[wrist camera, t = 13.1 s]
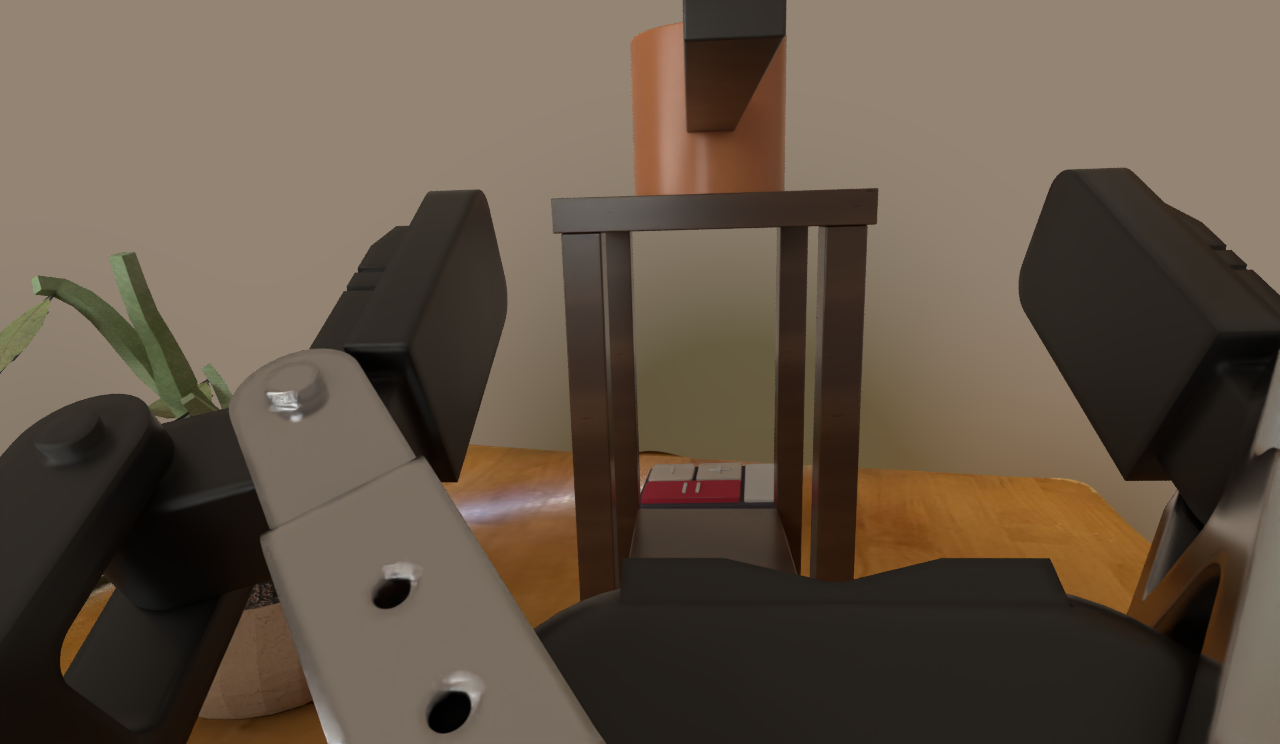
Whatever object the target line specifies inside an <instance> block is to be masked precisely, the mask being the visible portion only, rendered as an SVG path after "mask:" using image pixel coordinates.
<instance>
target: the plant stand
mask: <svg viewBox="0 0 1280 744" xmlns="http://www.w3.org/2000/svg"><path fill="white" fill-rule="evenodd" d="M551 205H552V223H553V233H555V234H557V233H563V234H562V235H561V239H562V257H563V278H564V295H565V296H564V297H565V315H566V334H567V353H568V373H569V391H570V410H571V411H570V412H571V430H572V450H573V469H574V488H575V507H576V526H577V546H578V565H579V584H580V601H583V600H586V599H588V598H591V597H594V596H596V595H599V594H602V593H605V592H609V591H613V590H616V589H620V588H621V574H622V559H623V558H727V559H731V560H736V561H740V562H744V563H749V564H753V565H757V566H762V567H766V568H770V569H775V570H779V571H784V572H788V573H792V574H797V575H801V531H802V485H803V439H804V391H805V347H806V300H807V255H808V254H807V253H808V250H807V249H808V226H819V234H818V274H817V312H816V313H817V314H816V352H815V353H816V355H815V392H814V434H813V435H814V436H813V473H812V513H811V553H810V578H814V579H818V580H823V581H828V582H844V581H850V580H854V557H855V531H856V506H857V481H858V454H859V430H860V427H859V426H860V404H861V377H862V353H863V327H864V304H865V303H864V302H865V278H866V253H867V228H868V227H867V225H870V224H871V225H873V224H877V207H878V189H877V188H868V189H837V190H809V191H807V190H806V191H775V192H744V193H712V194H681V195H650V196H619V197H589V198H557V199H551ZM767 227H777V267H776V269H777V270H776V347H775V352H776V353H775V428H774V508H773V509H641V503H640V470H639V438H638V409H637V408H638V406H637V374H636V343H635V309H634V278H633V247H632V246H633V244H632V231H661V230H698V229H733V228H767Z"/></svg>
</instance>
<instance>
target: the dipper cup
mask: <svg viewBox="0 0 1280 744" xmlns="http://www.w3.org/2000/svg"><path fill="white" fill-rule="evenodd" d="M631 74H632V75H631V77H632V108H633V109H632V110H633V143H634V173H635V174H634V177H635V196H650V195H681V194H712V193H744V192H775V191H784V172H785V171H784V170H785V167H784V166H785V104H786V103H785V101H786V99H785V98H786V0H683V22H681V23H675V24H669V25H665V26H660V27H657V28H653V29H650V30H647V31H645V32H643V33H640V34H638V35H637V36H636V37H634V38H633V39H632V41H631Z"/></svg>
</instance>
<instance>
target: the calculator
mask: <svg viewBox="0 0 1280 744" xmlns="http://www.w3.org/2000/svg"><path fill="white" fill-rule="evenodd" d="M640 503H641V509H773V508H774V464H746V466H742V464H741V463H703V464H700V465H699V467H695V464H658V465H654V466H653V468H652V469H651V470H650V472H649V474H648V477H647V479H646V482H645V484H644V486H643V489H642V491H641V494H640Z"/></svg>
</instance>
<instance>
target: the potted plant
mask: <svg viewBox="0 0 1280 744" xmlns="http://www.w3.org/2000/svg"><path fill="white" fill-rule="evenodd" d="M109 259H110V262H111V266H112V269H113V272H114V275H115V278H116V281H117V284H118V287H119V290H120V293H121V296H122V299H123V301H124V304H125V307H126V310H127V312H128V315H129V318H130V320H131V322H132V324H133V326H134V327H135V329H136V330H135V329H134V328H133V327H132V326H131V325H130V324H129V323H128V322H127V321H126V320H125V319H124V318H123V317H122V316H121V315H120V314H119V313H118V312H117V311H116V310H115V309H114V308H113V307H111V306H110V305H109V304H108V303H106V302H105V301H104V300H102V299H101V298H100V297H98V296H97V295H96V294H94V293H93V292H92V291H90V290H87V289H85V288H83V287H81V286H79V285H77V284H75V283H73V282H71V281H69V280H66V279H60V278H53V277H45V276H36V277H35V278H33V279H32V285H33V290H34V294H35V295H44V296H48V297H47V298H46V299H45V300H44V301H43V302H41V303H39V304H38V305H36V306H35V307H33V308H31V309H30V310H28V311H27V312H25V313H24V314H23V315H21V316H20V317H19V318H17V319H16V320H15V321H13V322H12V323H11V324H10V325H8V326H7V328H5V329H4V330H3V331H2V332H1V333H0V373H1V372H2V371H3V370H4V369H5V367H6V366H7V365H8V364H9V363H11V362H12V361H14V360H15V359H16V358H17V357H18V356H19V354H20V353H21V352H22V351H23V350H24V349H25V348H26V347H27V345H28V344H29V343H30V341H31V340H32V339H33V337H34V336H35V335H36V333H37V332H38V330H39V329H40V328H41V326H42V325H43V322H44V319H45V317H46V315H47V314H48V308H49V304H50V301H51V299H52V298H53V297H55V298H57V299H59V300H61V301H63V302H65V303H67V304H69V305H71V306H73V307H74V308H75V309H77V310H78V311H79V312H80V313H81V314H82V315H84V316H85V317H86V318H87V319H88V320H89V321H91V322H92V324H93V325H94V326H95V327H96V328H97V329H98V330H99V331H100V333H101V334H102V335H103V336H104V337H105V338H106V339H107V341H108V342H109V343H110V344H111V345H112V347H113V348H114V349H115V350H116V352H117V353H118V354H119V355H120V356H121V358H122V359H123V360H124V361H125V362H126V364H127V365H128V366H129V367H130V368H131V369H132V371H133V372H134V373H135V374H136V376H138V377H139V378H140V379H141V380H142V381H143V382H144V383H145V384H146V385H148V386H149V387H150V388H151V389H152V390H153V391H154V392H155V393H157V394H158V395H159V396H160V397H161V399H159V400H158V401H156V402H154V403H153V404H151V405H150V406H148V407H149V409H150V410H151V411H152V413H153V414H154V415H156V416H159V417H164V418H178V419H176V420H180V419H184V418H188V417H192V416H196V415H200V414H205V413H209V412H213V411H217V410H220V409H218V408H217V407H216V406H215V405H214V404H213V403H212V402H211V398H212V396H213V395H212V394H211V389H210V385H209V384H208V383H209V382H210V383H211V385H212V386H213V388H214V391H215V393H216V395H217V398H218V400H219V402H220V405H221V408H222V409H225V408H229V405H230V402H231V399H232V394H231V392H230V391H229V389H228V387H227V385H226V384H225V382H224V380H223V379H222V378H221V376H220V375H219V374H218V372H217V371H216V370H215V369H214V368H213V366H212V365H211V364H208V365H207V366H205V367H203V368H202V371H203V372H204V374H205V375H206V377H207V378H208V379H207V380H206V381H204V382H202V383H200V384H197V380H196V378H195V376H194V374H193V371H192V370H191V367H190V365H189V363H188V361H187V360H186V358H185V356H184V354H183V353H182V351H181V349H180V347H179V346H178V343H177V342H176V340H175V338H174V336H173V335H172V333H171V332H170V330H169V328H168V327H167V325H166V323H165V322H164V320H163V318H162V317H161V315H160V314H159V312H158V310H157V308H156V305H155V303H154V300H153V298H152V295H151V293H150V291H149V288H148V286H147V283H146V281H145V278H144V275H143V273H142V270H141V267H140V264H139V262H138V259H137V257H136V254H135V252H129V253H127V252H126V253H118V254H115V255H111V256H109ZM176 420H175V421H176ZM311 701H313V698H312V695H311V693H310V690H309V687H308V684H307V681H306V678H305V675H304V672H303V669H302V666H301V663H300V660H299V657H298V654H297V651H296V648H295V645H294V642H293V639H292V636H291V633H290V630H289V628H288V625H287V622H286V619H285V616H284V613H283V610H282V607H281V604H280V601H279V598H278V595H277V592H276V589H275V586H274V583H273V580H270V581H266V582H263V583H259V584H256V585H255V586H254V588H253V590H252V593H251V595H250V597H249V599H248V602H247V604H246V606H245V609H244V611H243V613H242V616H241V618H240V620H239V623H238V625H237V627H236V630H235V632H234V634H233V637H232V639H231V641H230V643H229V646H228V648H227V650H226V653H225V655H224V657H223V660H222V662H221V664H220V667H219V669H218V671H217V674H216V676H215V678H214V681H213V683H212V685H211V687H210V690H209V692H208V694H207V697H206V699H205V701H204V704H203V706H202V708H201V711H200V713H199V715H198V717H202V718H206V719H246V718H252V717H259V716H265V715H272V714H275V713H279V712H282V711H285V710H289V709H292V708H296V707H299V706H302V705H304V704H307V703H309V702H311Z"/></svg>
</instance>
